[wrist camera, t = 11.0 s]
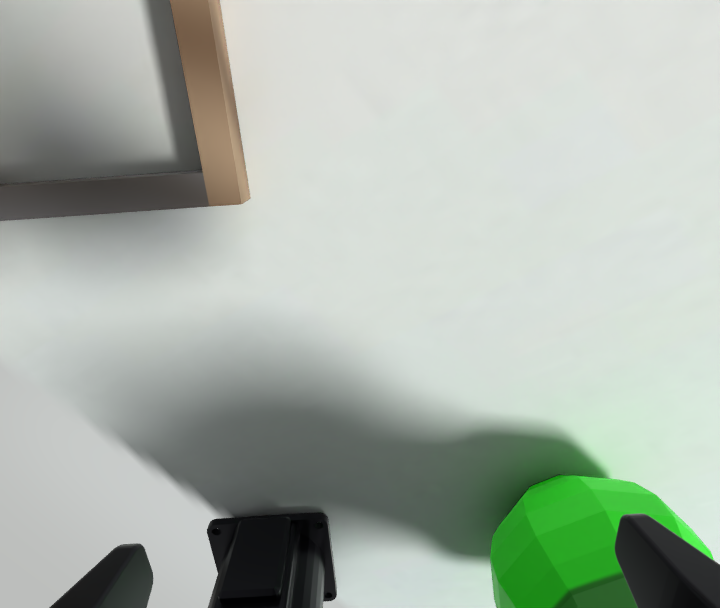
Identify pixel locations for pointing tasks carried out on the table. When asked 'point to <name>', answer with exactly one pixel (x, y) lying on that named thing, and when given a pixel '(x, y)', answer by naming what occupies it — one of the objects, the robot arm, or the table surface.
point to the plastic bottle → (572, 543)
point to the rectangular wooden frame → (174, 189)
